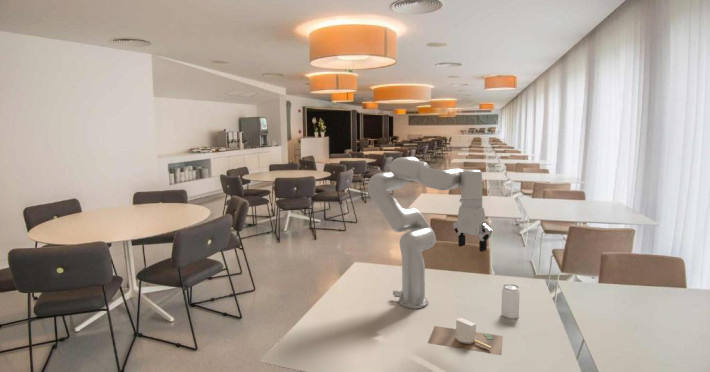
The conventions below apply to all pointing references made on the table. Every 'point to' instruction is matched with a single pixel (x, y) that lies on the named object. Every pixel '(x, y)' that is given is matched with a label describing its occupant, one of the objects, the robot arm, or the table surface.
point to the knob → (467, 332)
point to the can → (510, 301)
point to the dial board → (448, 339)
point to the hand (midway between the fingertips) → (472, 248)
